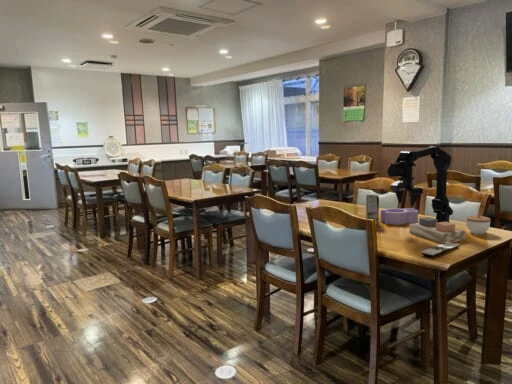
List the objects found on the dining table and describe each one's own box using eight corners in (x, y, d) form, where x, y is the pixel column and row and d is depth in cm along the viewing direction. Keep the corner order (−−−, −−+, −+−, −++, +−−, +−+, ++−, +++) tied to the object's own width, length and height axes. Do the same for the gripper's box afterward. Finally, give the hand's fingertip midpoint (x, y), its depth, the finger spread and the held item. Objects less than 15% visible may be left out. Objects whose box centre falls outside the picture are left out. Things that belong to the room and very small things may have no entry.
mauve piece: (411, 218, 232) (411, 207, 231) (421, 223, 220) (421, 211, 219) (378, 220, 231) (379, 209, 230) (387, 225, 219) (387, 213, 218)
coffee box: (378, 225, 219) (379, 197, 216) (367, 224, 220) (367, 197, 218) (377, 221, 228) (377, 194, 225) (365, 221, 229) (366, 194, 226)
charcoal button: (428, 224, 203) (428, 217, 202) (437, 227, 197) (437, 219, 196) (419, 225, 201) (419, 218, 200) (427, 228, 195) (428, 220, 194)
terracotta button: (444, 229, 192) (445, 221, 192) (454, 232, 187) (455, 224, 186) (435, 230, 190) (435, 222, 190) (444, 233, 185) (445, 225, 184)
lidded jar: (474, 228, 205) (475, 211, 203) (494, 233, 195) (495, 215, 194) (461, 231, 201) (462, 214, 199) (480, 236, 191) (481, 218, 189)
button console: (430, 229, 207) (431, 221, 206) (464, 239, 186) (465, 230, 186) (409, 232, 202) (409, 224, 202) (442, 243, 182) (442, 234, 181)
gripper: (382, 174, 206) (381, 203, 209) (405, 178, 189) (405, 209, 191) (399, 173, 210) (398, 201, 212) (424, 176, 192) (423, 207, 195)
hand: (405, 204), depth 203 cm, fingers open, 9 cm apart
